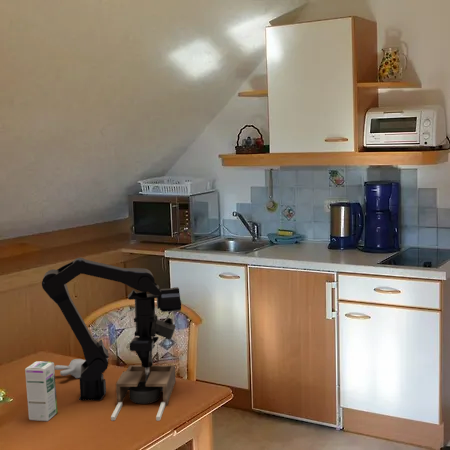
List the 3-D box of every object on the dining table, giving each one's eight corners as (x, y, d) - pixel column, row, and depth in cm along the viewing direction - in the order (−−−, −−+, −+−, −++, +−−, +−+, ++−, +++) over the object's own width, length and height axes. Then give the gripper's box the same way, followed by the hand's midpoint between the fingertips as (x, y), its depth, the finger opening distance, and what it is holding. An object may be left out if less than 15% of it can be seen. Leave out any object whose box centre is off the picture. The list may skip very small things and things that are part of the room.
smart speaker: (140, 391, 201) (139, 378, 201) (166, 396, 197) (166, 382, 197) (123, 402, 193) (122, 388, 193) (150, 407, 189) (149, 393, 189)
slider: (128, 392, 199) (126, 355, 198) (130, 388, 202) (128, 352, 201) (166, 392, 199) (164, 355, 197) (167, 388, 202) (166, 351, 200)
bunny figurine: (109, 362, 215) (63, 366, 207) (108, 378, 215) (62, 383, 207) (97, 355, 223) (52, 358, 215) (96, 370, 223) (51, 374, 215)
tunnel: (117, 405, 191) (116, 383, 190) (129, 381, 209) (129, 361, 209) (167, 405, 190) (166, 383, 189) (175, 381, 209) (174, 361, 208)
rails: (111, 420, 181) (110, 416, 181) (118, 405, 191) (118, 402, 190) (160, 420, 180) (159, 416, 180) (165, 405, 190) (165, 402, 190)
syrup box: (48, 421, 181) (45, 368, 179) (27, 420, 182) (24, 367, 180) (57, 413, 186) (55, 361, 184) (37, 411, 188) (34, 360, 186)
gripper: (168, 321, 188) (170, 376, 190) (176, 304, 206) (178, 355, 208) (128, 321, 188) (130, 376, 190) (140, 305, 207) (141, 355, 209)
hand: (147, 365), depth 199 cm, fingers closed on slider, 3 cm apart
